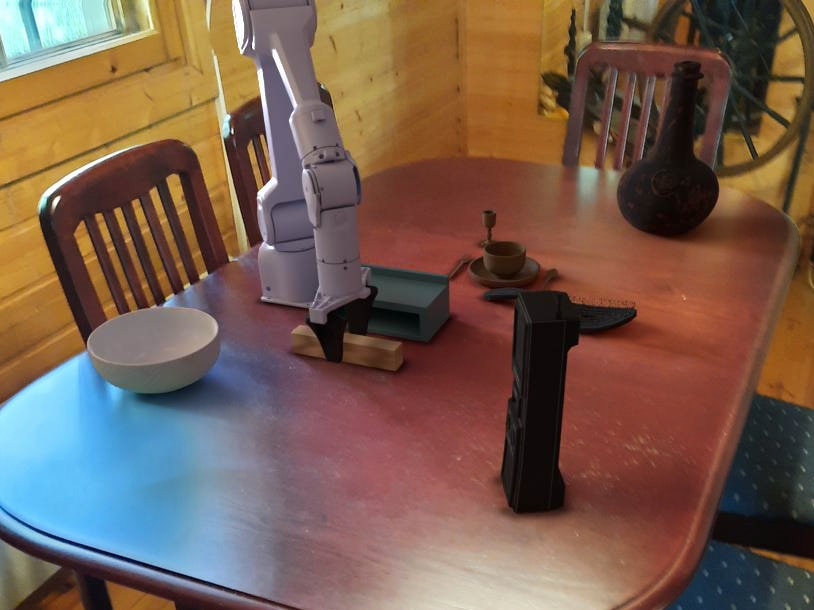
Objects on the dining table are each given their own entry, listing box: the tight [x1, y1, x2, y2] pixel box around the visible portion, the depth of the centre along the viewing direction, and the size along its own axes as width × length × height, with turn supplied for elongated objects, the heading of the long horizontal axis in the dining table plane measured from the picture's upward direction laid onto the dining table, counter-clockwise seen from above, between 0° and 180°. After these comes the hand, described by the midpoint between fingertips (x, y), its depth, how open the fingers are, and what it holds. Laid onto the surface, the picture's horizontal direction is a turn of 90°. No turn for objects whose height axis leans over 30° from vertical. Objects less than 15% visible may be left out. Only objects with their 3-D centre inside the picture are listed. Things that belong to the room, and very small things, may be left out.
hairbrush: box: [483, 287, 638, 334], centre depth 129 cm, size 8×4×25 cm
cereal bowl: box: [86, 306, 222, 394], centre depth 115 cm, size 17×17×7 cm
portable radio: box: [500, 289, 580, 514], centre depth 88 cm, size 8×6×25 cm
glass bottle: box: [616, 60, 720, 236], centre depth 150 cm, size 18×18×28 cm
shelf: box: [314, 262, 451, 343], centre depth 128 cm, size 18×9×7 cm, turn 68°
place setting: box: [449, 209, 559, 291], centre depth 143 cm, size 18×20×6 cm
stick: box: [290, 324, 404, 372], centre depth 120 cm, size 16×3×3 cm, turn 68°
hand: (346, 348), depth 120 cm, fingers open, 7 cm apart
